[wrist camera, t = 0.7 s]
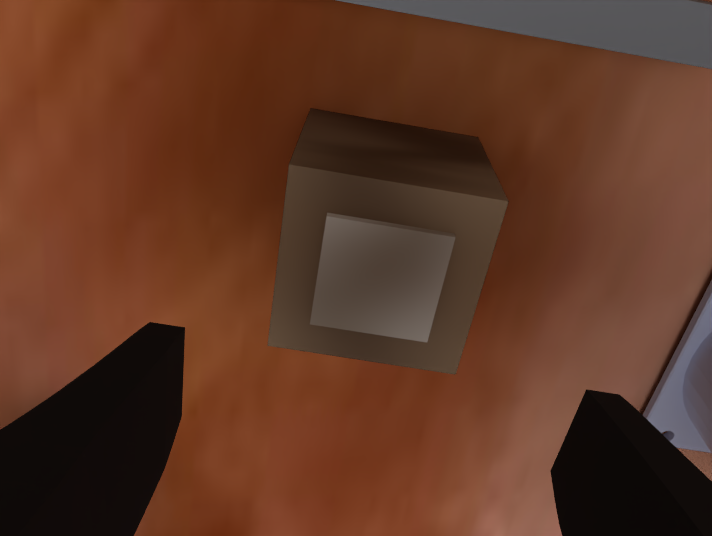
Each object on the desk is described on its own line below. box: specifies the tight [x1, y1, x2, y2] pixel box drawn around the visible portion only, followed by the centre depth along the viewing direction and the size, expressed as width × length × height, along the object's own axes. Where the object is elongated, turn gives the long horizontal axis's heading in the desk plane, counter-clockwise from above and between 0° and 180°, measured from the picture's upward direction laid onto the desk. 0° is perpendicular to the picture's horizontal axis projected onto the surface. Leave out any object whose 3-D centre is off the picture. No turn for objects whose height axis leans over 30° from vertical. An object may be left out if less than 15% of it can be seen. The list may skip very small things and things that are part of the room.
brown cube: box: [268, 108, 509, 374], centre depth 17 cm, size 5×5×5 cm
